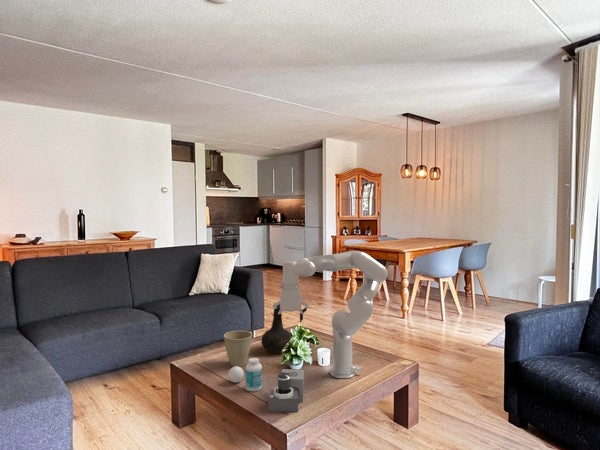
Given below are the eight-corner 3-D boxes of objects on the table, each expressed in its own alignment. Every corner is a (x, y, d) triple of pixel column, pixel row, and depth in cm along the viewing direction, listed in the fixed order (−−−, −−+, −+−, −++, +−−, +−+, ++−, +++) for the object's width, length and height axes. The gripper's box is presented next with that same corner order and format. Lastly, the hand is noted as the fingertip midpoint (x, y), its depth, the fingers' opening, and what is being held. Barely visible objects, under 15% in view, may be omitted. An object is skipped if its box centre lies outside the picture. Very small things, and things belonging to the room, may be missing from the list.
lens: (289, 396, 159) (289, 377, 159) (277, 396, 159) (277, 377, 159) (290, 390, 164) (290, 372, 164) (278, 390, 164) (278, 372, 164)
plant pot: (250, 370, 198) (249, 339, 198) (221, 369, 199) (221, 339, 198) (254, 358, 213) (254, 330, 213) (227, 358, 214) (227, 330, 213)
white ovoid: (247, 382, 185) (246, 367, 184) (233, 386, 180) (233, 371, 180) (235, 375, 192) (235, 360, 192) (222, 379, 187) (222, 364, 187)
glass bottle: (256, 353, 221) (255, 305, 220) (270, 343, 237) (270, 298, 236) (284, 358, 214) (284, 308, 213) (297, 347, 230) (297, 301, 229)
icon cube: (279, 401, 166) (279, 378, 166) (282, 390, 176) (282, 369, 176) (303, 402, 166) (303, 379, 165) (304, 391, 176) (304, 369, 175)
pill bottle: (255, 393, 173) (255, 364, 173) (242, 389, 177) (242, 360, 177) (265, 387, 180) (265, 358, 179) (252, 383, 183) (252, 355, 183)
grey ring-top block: (297, 401, 166) (297, 385, 166) (298, 411, 158) (298, 394, 158) (269, 402, 166) (269, 386, 165) (268, 412, 158) (268, 395, 157)
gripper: (272, 288, 182) (272, 324, 183) (309, 288, 182) (308, 324, 183) (273, 285, 189) (273, 319, 190) (308, 285, 190) (308, 319, 190)
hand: (290, 321), depth 187 cm, fingers open, 9 cm apart
